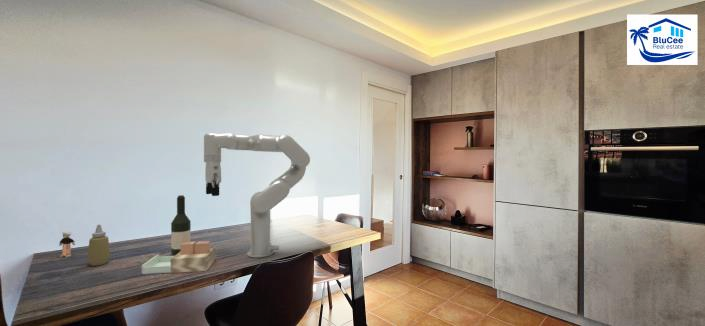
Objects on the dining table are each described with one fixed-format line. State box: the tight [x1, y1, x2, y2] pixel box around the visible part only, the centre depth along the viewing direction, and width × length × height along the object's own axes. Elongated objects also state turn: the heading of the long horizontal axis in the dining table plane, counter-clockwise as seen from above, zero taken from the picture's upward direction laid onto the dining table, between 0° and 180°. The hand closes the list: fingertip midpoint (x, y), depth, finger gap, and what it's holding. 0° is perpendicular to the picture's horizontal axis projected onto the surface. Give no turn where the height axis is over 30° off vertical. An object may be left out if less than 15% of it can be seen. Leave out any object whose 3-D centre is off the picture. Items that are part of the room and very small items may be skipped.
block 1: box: [181, 241, 197, 255], centre depth 130 cm, size 5×4×4 cm
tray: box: [141, 254, 174, 276], centre depth 128 cm, size 11×14×4 cm
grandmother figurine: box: [58, 230, 76, 258], centre depth 144 cm, size 8×4×13 cm, turn 102°
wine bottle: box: [170, 194, 192, 256], centre depth 146 cm, size 8×8×30 cm
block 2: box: [195, 240, 211, 254], centre depth 131 cm, size 5×4×4 cm
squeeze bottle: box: [86, 224, 111, 267], centre depth 133 cm, size 8×8×18 cm
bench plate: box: [170, 246, 217, 274], centre depth 131 cm, size 14×14×6 cm
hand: (212, 194), depth 140 cm, fingers open, 9 cm apart
